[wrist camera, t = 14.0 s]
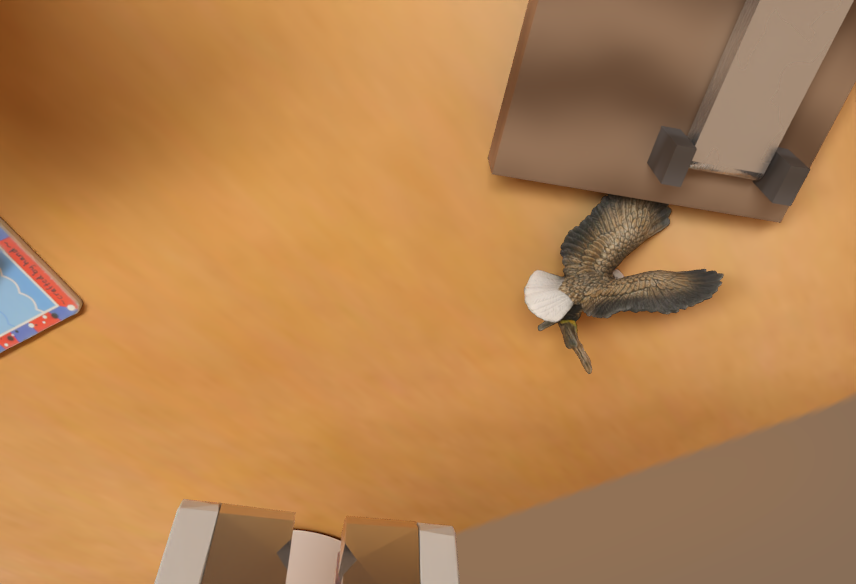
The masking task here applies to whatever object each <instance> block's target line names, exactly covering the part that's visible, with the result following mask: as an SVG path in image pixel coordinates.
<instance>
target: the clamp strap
mask: <svg viewBox="0 0 856 584" xmlns="http://www.w3.org/2000/svg"><path fill="white" fill-rule="evenodd" d="M853 1H854V0H746V1H745V4H744V6H743V8H742V11H741V13H740V15H739V18H738V20H737V22H736V25H735V27H734V29H733V31H732V34H731V36H730V38H729V41H728V43H727V45H726V48H725V50H724V52H723V54H722V57H721V59H720V61H719V64H718V66H717V68H716V71H715V73H714V75H713V78H712V80H711V82H710V84H709V87H708V89H707V91H706V94H705V96H704V98H703V101H702V103H701V105H700V108H699V110H698V112H697V114H696V117H695V119H694V121H693V124H692V126H691V128H690V131H689V133H688V135H687V137H688V139H689V140H690V141H691V142H692V143H693V145H694V146H695V147H696V148H697V150H696V153H695V155H694V157H693V160H692V162H691V164H690V167H689V169H695V170H701V171H706V172H712V173H718V174H723V175H729V176H735V177H740V178H746V179H752V180H759V179H761V178H762V177H763V175H764V173H765V171H766V169H767V167H768V166H769V164H770V162H771V160H772V158H773V156H774V154H775V152H776V150H777V148H778V146H779V144H780V142H781V140H782V138H783V137H784V135H785V133H786V131H787V129H788V127H789V125H790V123H791V121H792V119H793V117H794V115H795V113H796V111H797V109H798V108H799V106H800V104H801V102H802V100H803V98H804V96H805V94H806V92H807V90H808V88H809V86H810V84H811V82H812V80H813V78H814V77H815V75H816V73H817V71H818V69H819V67H820V65H821V63H822V61H823V59H824V57H825V55H826V53H827V51H828V49H829V48H830V46H831V44H832V42H833V40H834V38H835V36H836V34H837V32H838V30H839V28H840V26H841V24H842V22H843V20H844V19H845V17H846V15H847V13H848V11H849V9H850V7H851V5H852V3H853Z"/></svg>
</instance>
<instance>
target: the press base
mask: <svg viewBox="0 0 856 584" xmlns="http://www.w3.org/2000/svg"><path fill="white" fill-rule="evenodd" d="M745 1H746V0H529V3H528V6H527V10H526V14H525V18H524V22H523V26H522V29H521V33H520V37H519V41H518V45H517V49H516V52H515V56H514V60H513V64H512V68H511V72H510V75H509V79H508V83H507V87H506V91H505V95H504V98H503V102H502V106H501V110H500V114H499V118H498V121H497V125H496V129H495V133H494V137H493V141H492V144H491V148H490V152H489V156H488V160H489V164H490V168H491V172H492V174H495V175H500V176H506V177H512V178H518V179H524V180H530V181H536V182H542V183H548V184H554V185H560V186H566V187H572V188H578V189H584V190H589V191H595V192H601V193H607V194H613V195H619V196H625V197H631V198H637V199H643V200H649V201H655V202H661V203H667V204H673V205H678V206H684V207H690V208H696V209H702V210H708V211H714V212H720V213H726V214H732V215H738V216H744V217H750V218H756V219H762V220H767V221H773V222H779V223H781V221H782V219H783V217H784V215H785V213H786V211H787V209H788V208H789V206H791V205H792V203H793V201H794V199H795V197H796V195H797V193H798V192H799V190H800V188H801V186H802V184H803V182H804V180H805V178H806V177H807V175H808V173H809V171H810V169H809V168H810V166H811V164H812V162H813V161H814V159H815V157H816V155H817V153H818V151H819V149H820V147H821V146H822V144H823V142H824V140H825V138H826V136H827V134H828V132H829V131H830V129H831V127H832V125H833V123H834V121H835V119H836V117H837V116H838V114H839V112H840V110H841V108H842V106H843V104H844V102H845V100H846V99H847V97H848V95H849V93H850V91H851V89H852V87H853V85H854V84H855V82H856V0H854V1H853V3H852V5H851V7H850V9H849V11H848V13H847V15H846V17H845V19H844V20H843V22H842V24H841V26H840V28H839V30H838V32H837V34H836V36H835V38H834V40H833V42H832V44H831V46H830V48H829V49H828V51H827V53H826V55H825V57H824V59H823V61H822V63H821V65H820V67H819V69H818V71H817V73H816V75H815V77H814V78H813V80H812V82H811V84H810V86H809V88H808V90H807V92H806V94H805V96H804V98H803V100H802V102H801V104H800V106H799V108H798V109H797V111H796V113H795V115H794V117H793V119H792V121H791V123H790V125H789V127H788V129H787V131H786V133H785V135H784V137H783V138H782V140H781V142H780V144H779V146H778V148H777V150H776V152H775V154H774V156H773V158H772V160H771V162H770V164H769V166H768V167H767V169H766V171H765V173H764V175H763V177H762V178H761V179H759V180H752V179H746V178H740V177H735V176H729V175H723V174H718V173H712V172H706V171H701V170H695V169H689V167H690V164H691V162H692V160H693V157H694V155H695V153H696V150H697V148H696V147H695V146H694V145H693V143H692V142H691V141H690V140H689V139H688V137H687V135H688V133H689V131H690V128H691V126H692V124H693V121H694V119H695V117H696V114H697V112H698V110H699V108H700V105H701V103H702V101H703V98H704V96H705V94H706V91H707V89H708V87H709V84H710V82H711V80H712V78H713V75H714V73H715V71H716V68H717V66H718V64H719V61H720V59H721V57H722V54H723V52H724V50H725V48H726V45H727V43H728V41H729V38H730V36H731V34H732V31H733V29H734V27H735V25H736V22H737V20H738V18H739V15H740V13H741V11H742V8H743V6H744V4H745Z"/></svg>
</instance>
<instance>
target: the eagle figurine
mask: <svg viewBox="0 0 856 584" xmlns="http://www.w3.org/2000/svg"><path fill="white" fill-rule="evenodd" d="M668 205H669V204H667V203H661V202H655V201H649V200H643V199H637V198H631V197H625V196H619V195H613V194H608V196H604V197H603V198H602V200H601V203H600V204H598V205H597V206H596V207H595V208H593V210H592V212H591V215H588V216H587V217H586V218H585V220H583V221H582V222H581V223H580V226H575V227H574V229H573V230H570V231H569V232H568V235H567V236H566V237H565V240H564V243H563V244H562V245H561V252H560V254H561V256H562V257H563V260H562V263H563V265H564V266H565V268H564V269H563V272H564V274H565V276H564V277H560V276H557V275H554V274H551V273H547V272H544V271H541V270H536V271H535V272H534V273H533V274H532V275H531V276H530V278H529V281H528V283H527V285H526V286H525V288H524V293H525V303H526V304H527V306H528V309H529V310H530V311H531V312H532V313H533V314H535V315H536V316H537V317H539V318H541V319H543V320H544V322H543V323H542V324H540V325H539V326H538V330H539V331H542V330H544V329H545V328H547V327H549V326H551V325H554V324H555V323H558V325H559V327H560V329H561V332H562V334H563V338H564V342H565V345H566V347H567V348H568V349H571V348H572V349H573V350H574V351H575V353H576V354H577V356H578V357H579V359H580V361H581V363H582V365H583V367H584V369H585V370H586V372H587V373H588V374H591V372H592V366H591V362H590V358H589V357H588V355H587V354H586V352H585V351H584V348H583V346H582V344H581V343H580V341H579V340H578V336H577V325H576V321H577V320H578V319H579V318H580V315H581V312H582V311H583V312H584V313H586V315H587V316H591V315H592V317H597V318H609V317H611V315H612V314H616V313H618V312H619V311H624V312H626V311H632V312H635V313H637V312H639V311H649V312H656V311H658V312H660V313H662V314H670V313H677V312H679V309H684V310H685V309H686V308H687V307H692V306H694V305H695V304H698V303H701V302H703V301H704V300H707V299H710V298H712V295H713V294H714V293H715V292H717V291H718V287H719V286H720V285H721V284H722V282H721V281H720V280H721V279H722V278H723V274H719V273H718V274H717V272H716V271H708V272H706V269H701V270H693V271H681V272H672V271H662V270H657V271H649V272H644V273H640V274H636V275H631V276H627V277H624V275H623V274H622V273H621V272H620V271H619V270H618V269H617V270H615V268H616V267H617V266H618V265H619V264H620V263H621V262H622V260H623V259H624V258H625V257H626V256H627V255H628V254H629V253H631V252H632V251H633V250H634V249H636V248H637V247H638V246H639V245H640V244H642V243H643V242H644V241H645V240H646V239H648V238H649V237H651V236H653V235H654V234H656V233H657V232H659V231H661V230H663V229H664V228H665V227H666V226H668V225H669V224H670V220H669V218H668V217H669V215H670V213H671V209H670V208H669V207H668Z"/></svg>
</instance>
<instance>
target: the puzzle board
mask: <svg viewBox="0 0 856 584" xmlns="http://www.w3.org/2000/svg"><path fill="white" fill-rule="evenodd" d="M82 305H83V301H82V299H81V298H80V297H79V296H78V295H77V294H76V293H75V292H74V291H73V290H72V289H71V288H70V287H69V286H68V285H67V284H66V283H65V282H64V281H63V280H62V279H61V278H60V277H59V276H58V275H57V274H56V273H55V272H54V271H53V270H52V269H51V268H50V267H49V266H48V265H47V264H46V263H45V262H44V261H43V260H42V259H41V258H40V257H39V256H38V255H37V254H36V253H35V252H34V251H33V249H32V248H31V247H30V246H29V245H28V244H27V243H26V242H25V241H24V240H23V239H22V238H21V237H20V236H19V235H18V234H17V233H16V232H15V231H14V230H13V229H12V228H11V227H10V226H9V225H8V224H7V223H6V222H5V221H4V220H3V219H2V218H1V217H0V353H1V352H3V351H5V350H7V349H9V348H11V347H13V346H15V345H17V344H19V343H21V342H23V341H25V340H27V339H28V338H30V337H32V336H34V335H36V334H38V333H40V332H42V331H43V330H45V329H47V328H49V327H51V326H52V325H54V324H57V323H59V322H61V321H63V320H65V319H66V318H68V317H70V316H72V315H74V314H76V313H78V312H79V311H80V309H81V307H82Z"/></svg>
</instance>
